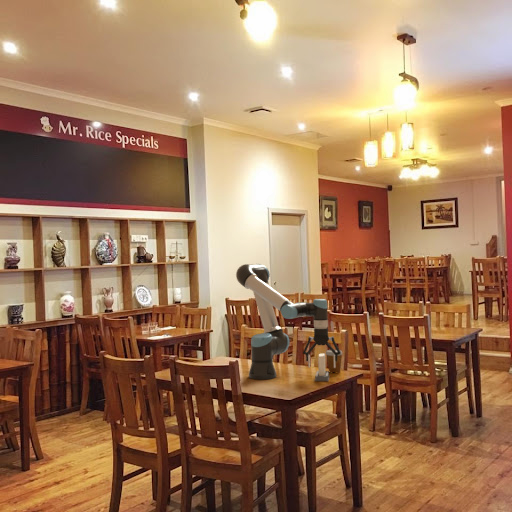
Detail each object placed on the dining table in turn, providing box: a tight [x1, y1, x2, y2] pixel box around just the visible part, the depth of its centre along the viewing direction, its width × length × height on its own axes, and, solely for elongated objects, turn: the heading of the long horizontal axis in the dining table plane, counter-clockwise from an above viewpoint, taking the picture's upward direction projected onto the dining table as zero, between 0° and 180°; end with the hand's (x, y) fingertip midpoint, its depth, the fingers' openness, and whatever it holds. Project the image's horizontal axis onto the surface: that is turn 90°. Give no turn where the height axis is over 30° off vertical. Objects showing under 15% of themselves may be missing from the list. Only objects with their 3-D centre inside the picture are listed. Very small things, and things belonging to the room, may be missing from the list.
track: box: [314, 370, 330, 382], centre depth 296 cm, size 7×14×3 cm, turn 170°
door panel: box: [317, 353, 327, 376], centre depth 296 cm, size 9×3×12 cm, turn 170°
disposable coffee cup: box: [325, 349, 343, 373], centre depth 313 cm, size 10×10×12 cm
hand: (322, 367), depth 296 cm, fingers open, 13 cm apart
